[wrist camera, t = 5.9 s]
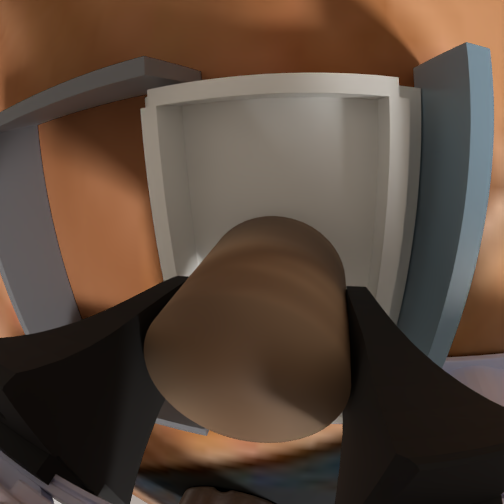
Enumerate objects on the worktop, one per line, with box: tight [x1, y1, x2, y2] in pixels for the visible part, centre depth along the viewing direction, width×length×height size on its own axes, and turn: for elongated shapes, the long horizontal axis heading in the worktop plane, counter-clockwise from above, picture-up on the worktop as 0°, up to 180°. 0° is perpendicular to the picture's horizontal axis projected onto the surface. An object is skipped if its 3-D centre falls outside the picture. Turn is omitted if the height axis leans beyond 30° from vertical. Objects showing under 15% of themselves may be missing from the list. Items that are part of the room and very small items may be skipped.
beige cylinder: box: [144, 216, 351, 443], centre depth 9 cm, size 5×5×5 cm
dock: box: [0, 56, 209, 436], centre depth 14 cm, size 11×16×4 cm
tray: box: [140, 42, 494, 424], centre depth 11 cm, size 11×16×5 cm
